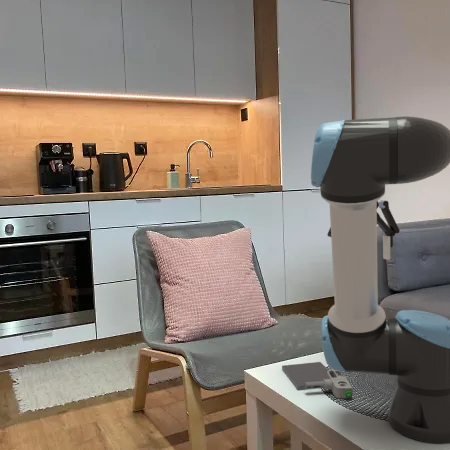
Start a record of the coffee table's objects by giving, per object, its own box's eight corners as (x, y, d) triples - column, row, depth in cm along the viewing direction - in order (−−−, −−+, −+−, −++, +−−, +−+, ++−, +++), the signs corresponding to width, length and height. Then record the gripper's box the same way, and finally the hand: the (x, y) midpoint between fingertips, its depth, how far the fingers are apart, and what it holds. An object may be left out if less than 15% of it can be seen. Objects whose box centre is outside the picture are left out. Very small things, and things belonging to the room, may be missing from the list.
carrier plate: (340, 385, 127) (340, 381, 127) (297, 390, 125) (297, 386, 125) (320, 365, 141) (320, 361, 141) (282, 369, 139) (281, 365, 139)
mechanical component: (300, 380, 128) (339, 377, 129) (311, 403, 118) (352, 400, 119) (300, 369, 127) (339, 367, 128) (311, 391, 117) (353, 389, 118)
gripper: (397, 181, 144) (398, 255, 147) (314, 185, 140) (316, 261, 142) (412, 182, 137) (412, 259, 139) (325, 186, 132) (326, 266, 135)
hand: (364, 261), depth 141 cm, fingers open, 13 cm apart
